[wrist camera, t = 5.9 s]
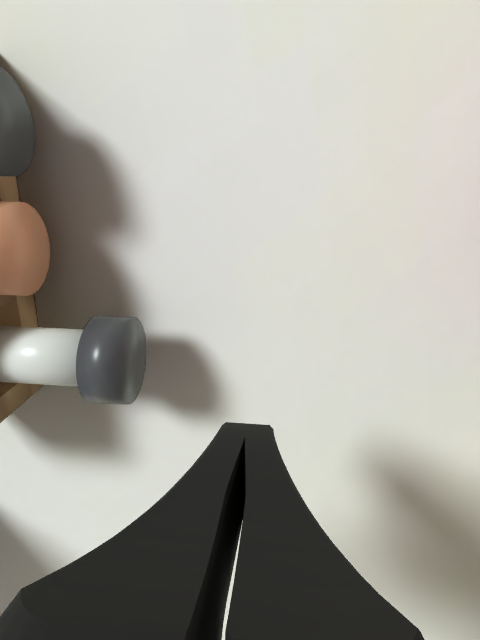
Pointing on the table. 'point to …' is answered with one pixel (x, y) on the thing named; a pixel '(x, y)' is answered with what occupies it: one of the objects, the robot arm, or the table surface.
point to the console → (15, 320)
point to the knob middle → (22, 249)
